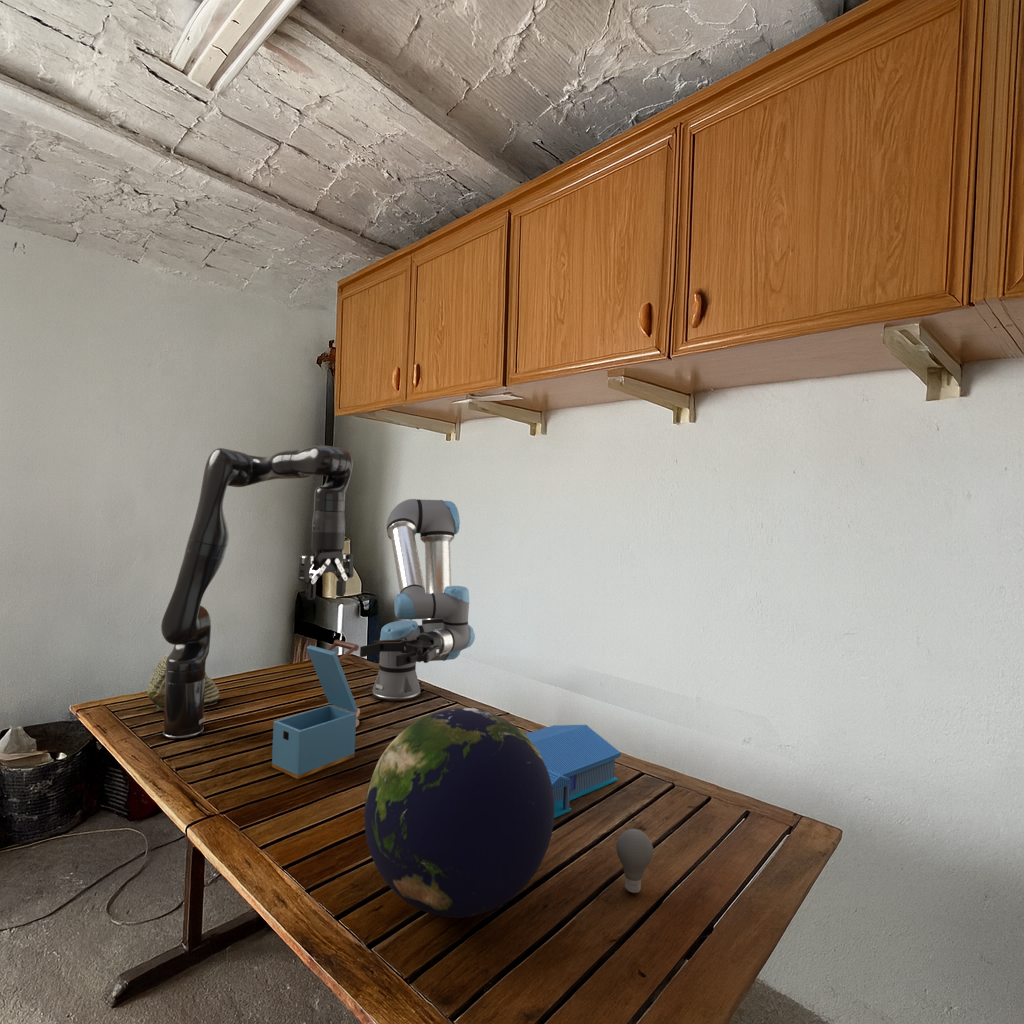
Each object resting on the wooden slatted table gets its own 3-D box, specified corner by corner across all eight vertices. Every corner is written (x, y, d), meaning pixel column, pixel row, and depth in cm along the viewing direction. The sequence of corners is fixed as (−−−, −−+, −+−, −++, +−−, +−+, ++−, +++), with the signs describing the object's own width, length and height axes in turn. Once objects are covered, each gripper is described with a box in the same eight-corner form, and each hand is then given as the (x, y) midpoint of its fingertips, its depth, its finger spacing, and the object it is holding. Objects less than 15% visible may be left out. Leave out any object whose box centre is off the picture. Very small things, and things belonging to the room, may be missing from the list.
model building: (501, 841, 119) (503, 788, 119) (426, 793, 137) (428, 747, 137) (629, 785, 145) (631, 742, 145) (552, 750, 163) (554, 712, 163)
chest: (297, 779, 141) (299, 731, 141) (271, 767, 147) (273, 721, 147) (354, 757, 155) (356, 713, 154) (328, 746, 160) (330, 704, 160)
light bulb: (610, 879, 108) (613, 822, 108) (644, 879, 109) (647, 822, 109) (619, 902, 102) (622, 840, 102) (655, 901, 103) (658, 840, 103)
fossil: (144, 707, 182) (145, 655, 182) (212, 696, 194) (213, 647, 194) (151, 716, 175) (153, 662, 175) (221, 703, 188) (223, 653, 188)
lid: (332, 654, 148) (357, 635, 154) (306, 647, 153) (331, 629, 159) (354, 712, 154) (377, 691, 160) (328, 703, 160) (351, 683, 166)
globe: (319, 928, 93) (327, 726, 93) (422, 833, 121) (429, 676, 120) (506, 997, 82) (516, 767, 81) (573, 874, 109) (581, 702, 109)
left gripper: (313, 531, 143) (311, 603, 143) (362, 530, 155) (359, 596, 155) (293, 529, 147) (290, 598, 148) (341, 528, 159) (339, 593, 159)
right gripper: (466, 664, 176) (412, 680, 159) (402, 649, 191) (346, 661, 173) (467, 637, 176) (413, 650, 159) (403, 624, 191) (347, 634, 173)
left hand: (325, 597), depth 151 cm, fingers open, 8 cm apart
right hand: (378, 656), depth 166 cm, fingers open, 13 cm apart
